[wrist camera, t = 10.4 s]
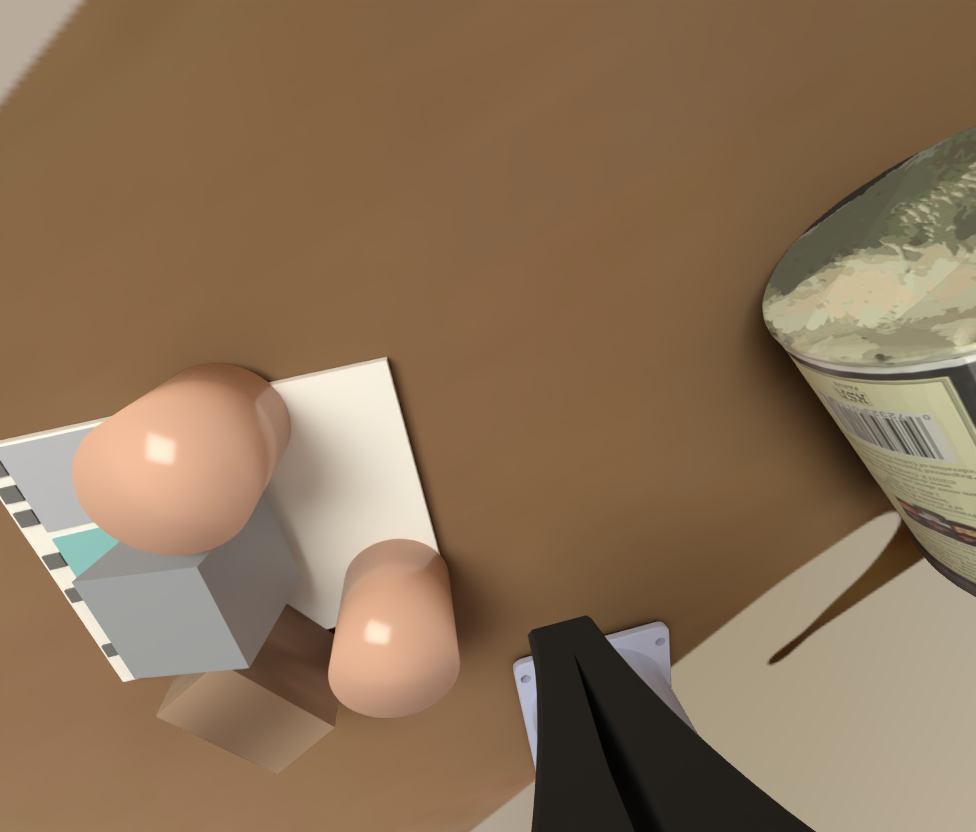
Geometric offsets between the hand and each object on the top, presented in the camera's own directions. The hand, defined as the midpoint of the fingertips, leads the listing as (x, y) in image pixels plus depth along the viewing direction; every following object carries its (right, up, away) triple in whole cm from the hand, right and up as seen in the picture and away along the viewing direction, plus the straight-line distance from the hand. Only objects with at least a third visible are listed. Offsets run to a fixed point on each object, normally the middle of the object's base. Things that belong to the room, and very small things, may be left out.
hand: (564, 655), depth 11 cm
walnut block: (-11, -4, +10) cm, 15 cm away
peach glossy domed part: (-11, +5, +6) cm, 14 cm away
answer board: (-11, +1, +9) cm, 14 cm away
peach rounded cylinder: (-6, -2, +10) cm, 12 cm away
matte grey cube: (-11, +1, +8) cm, 14 cm away
